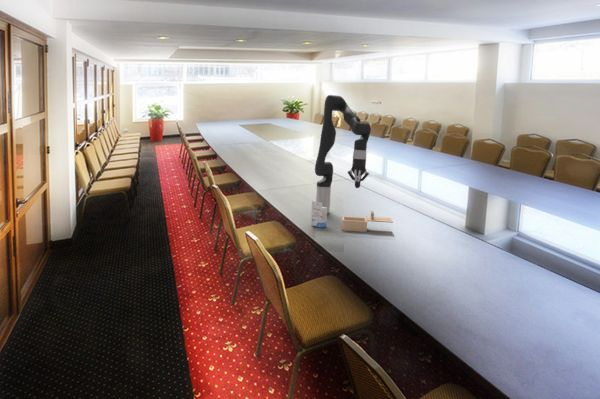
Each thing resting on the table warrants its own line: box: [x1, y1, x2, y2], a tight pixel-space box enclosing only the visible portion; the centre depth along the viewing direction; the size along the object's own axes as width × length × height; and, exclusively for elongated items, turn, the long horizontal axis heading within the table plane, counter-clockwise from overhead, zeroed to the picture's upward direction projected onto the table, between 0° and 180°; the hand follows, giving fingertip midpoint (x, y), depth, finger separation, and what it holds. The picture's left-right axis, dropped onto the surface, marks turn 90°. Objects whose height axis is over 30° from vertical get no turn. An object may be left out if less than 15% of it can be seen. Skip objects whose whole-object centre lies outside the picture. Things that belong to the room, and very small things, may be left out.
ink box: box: [310, 200, 328, 229], centre depth 240 cm, size 8×5×15 cm, turn 47°
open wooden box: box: [341, 216, 368, 233], centre depth 236 cm, size 11×14×6 cm
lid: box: [365, 210, 394, 224], centre depth 234 cm, size 11×14×4 cm
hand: (357, 187), depth 233 cm, fingers closed
